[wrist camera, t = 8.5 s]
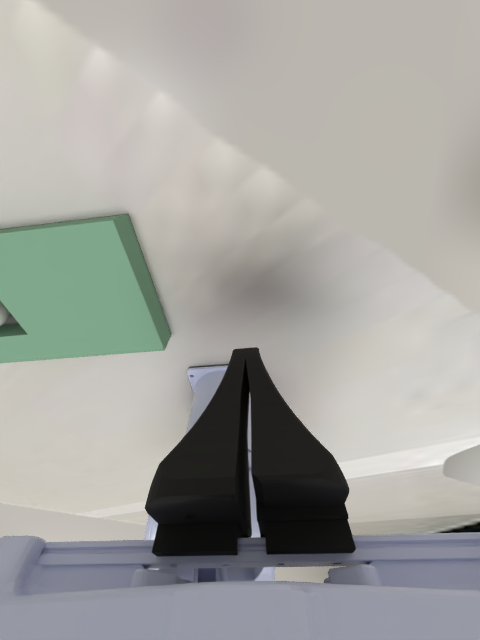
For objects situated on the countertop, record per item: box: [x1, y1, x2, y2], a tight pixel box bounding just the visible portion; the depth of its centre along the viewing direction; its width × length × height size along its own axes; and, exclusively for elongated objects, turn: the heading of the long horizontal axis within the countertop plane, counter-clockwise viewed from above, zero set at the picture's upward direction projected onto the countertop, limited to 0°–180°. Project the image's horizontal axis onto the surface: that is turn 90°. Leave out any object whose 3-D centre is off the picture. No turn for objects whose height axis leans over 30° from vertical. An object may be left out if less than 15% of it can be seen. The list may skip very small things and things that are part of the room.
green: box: [0, 214, 171, 363], centre depth 20 cm, size 12×19×2 cm, turn 96°
